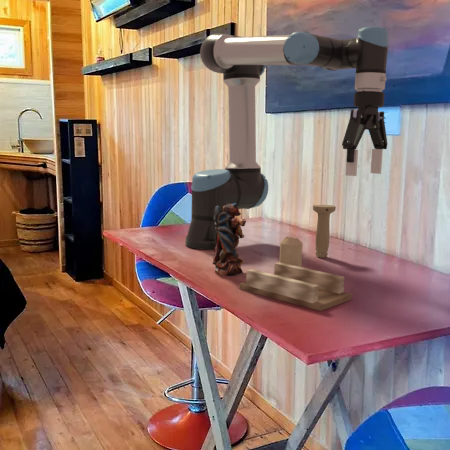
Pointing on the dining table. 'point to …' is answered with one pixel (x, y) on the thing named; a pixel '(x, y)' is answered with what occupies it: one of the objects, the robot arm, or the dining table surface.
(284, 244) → the candle
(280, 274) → the rack
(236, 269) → the figurine
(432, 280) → the dining table surface
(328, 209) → the handle
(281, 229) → the dining table surface
